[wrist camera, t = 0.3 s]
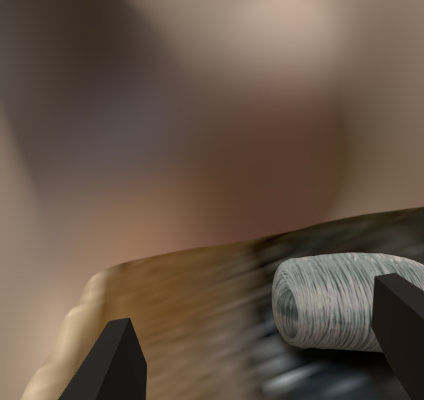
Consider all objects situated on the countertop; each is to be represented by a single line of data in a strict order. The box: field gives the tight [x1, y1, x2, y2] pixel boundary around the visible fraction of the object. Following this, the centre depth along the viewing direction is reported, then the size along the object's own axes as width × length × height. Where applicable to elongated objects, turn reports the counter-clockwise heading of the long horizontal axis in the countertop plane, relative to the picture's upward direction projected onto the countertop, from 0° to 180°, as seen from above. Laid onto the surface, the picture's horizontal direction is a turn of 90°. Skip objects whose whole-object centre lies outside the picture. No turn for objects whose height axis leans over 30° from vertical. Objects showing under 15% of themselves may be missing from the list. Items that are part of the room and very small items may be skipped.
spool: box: [272, 253, 424, 352], centre depth 31 cm, size 14×10×10 cm
